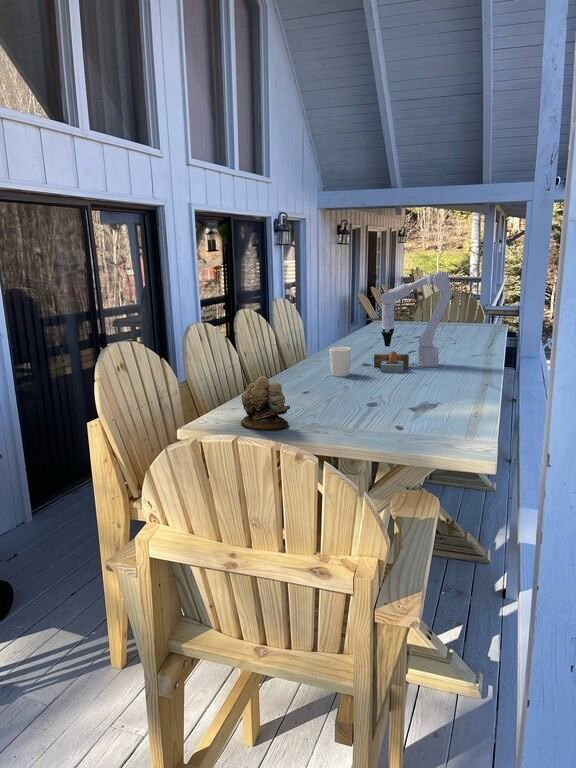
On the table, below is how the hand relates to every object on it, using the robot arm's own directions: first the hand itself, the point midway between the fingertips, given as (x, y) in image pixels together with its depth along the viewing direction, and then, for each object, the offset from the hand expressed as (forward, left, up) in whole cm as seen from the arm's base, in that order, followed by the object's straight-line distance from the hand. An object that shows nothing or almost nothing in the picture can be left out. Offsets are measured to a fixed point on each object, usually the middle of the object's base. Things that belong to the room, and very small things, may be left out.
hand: (387, 345), depth 264 cm
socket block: (-3, +14, -10) cm, 17 cm away
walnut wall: (-2, +7, -9) cm, 12 cm away
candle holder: (+20, +24, -10) cm, 33 cm away
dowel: (-3, +14, -9) cm, 17 cm away
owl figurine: (+35, +98, -10) cm, 105 cm away
